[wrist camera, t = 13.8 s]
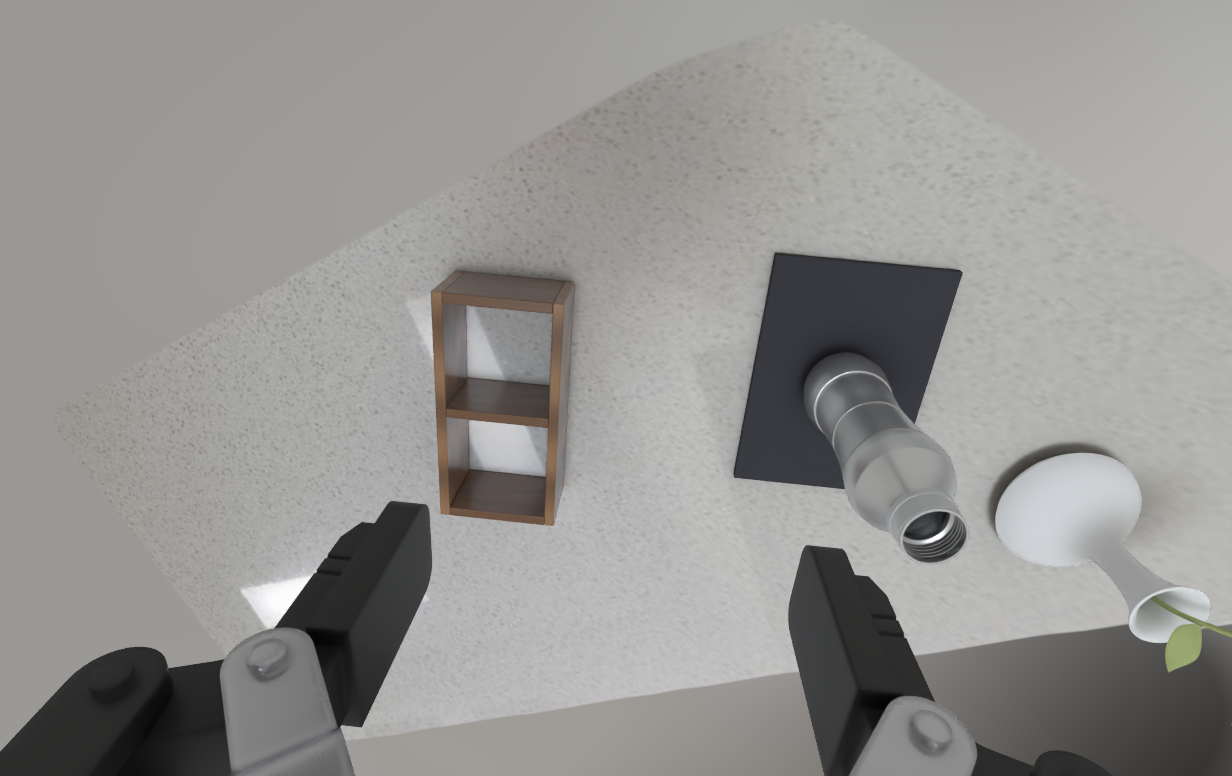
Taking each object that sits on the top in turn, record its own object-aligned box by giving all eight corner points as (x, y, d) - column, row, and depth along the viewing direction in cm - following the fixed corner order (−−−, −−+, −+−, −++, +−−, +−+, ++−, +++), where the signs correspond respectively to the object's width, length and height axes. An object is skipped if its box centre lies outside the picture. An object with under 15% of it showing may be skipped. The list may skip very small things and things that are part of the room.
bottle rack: (455, 270, 50) (430, 291, 45) (574, 282, 50) (564, 304, 45) (460, 475, 58) (440, 514, 53) (563, 486, 58) (553, 526, 53)
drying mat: (774, 252, 48) (776, 254, 48) (959, 270, 48) (963, 272, 47) (733, 474, 56) (733, 477, 56) (890, 490, 56) (892, 494, 56)
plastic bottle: (875, 336, 50) (999, 473, 32) (881, 411, 52) (999, 577, 34) (792, 352, 51) (866, 494, 33) (802, 425, 53) (876, 594, 35)
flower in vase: (977, 552, 58) (1179, 841, 36) (997, 445, 54) (1244, 700, 31) (1128, 548, 57) (1436, 845, 34) (1162, 438, 52) (1545, 698, 30)
